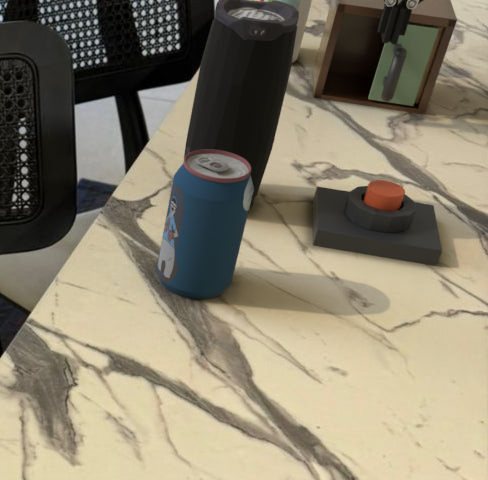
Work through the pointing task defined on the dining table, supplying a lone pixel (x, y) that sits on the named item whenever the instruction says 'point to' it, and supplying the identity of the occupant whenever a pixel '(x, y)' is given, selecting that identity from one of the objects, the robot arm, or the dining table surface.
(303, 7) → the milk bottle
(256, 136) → the portable speaker
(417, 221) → the control block
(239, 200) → the soda can
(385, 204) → the button
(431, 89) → the cabinet
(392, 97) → the sliding door
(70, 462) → the dining table surface
